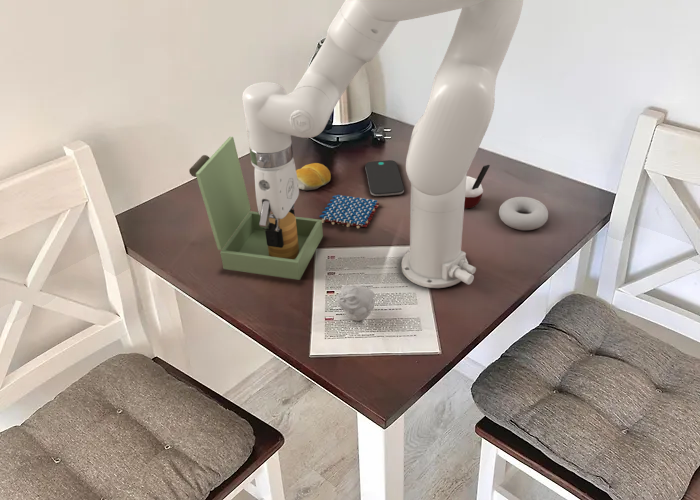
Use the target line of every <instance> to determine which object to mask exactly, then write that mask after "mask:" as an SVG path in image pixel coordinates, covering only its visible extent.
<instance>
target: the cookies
mask: <svg viewBox="0 0 700 500" xmlns="http://www.w3.org/2000/svg"><path fill="white" fill-rule="evenodd" d="M270 214H273V212H270ZM295 217H296V215H295V216H294V214H292V213H290V212H288V214H287V215H286V216H285V217H284V218H283V219H280V229H282V234H283V242H284V246H283V247H282V248H279V247H271V246H268V252H269V256H271V257H279V258H286V259H295V258H296V257H297V256H298V254H299V245H298V235H297V226H296V218H295ZM269 222H270V223H273V224H275V218H269Z"/></svg>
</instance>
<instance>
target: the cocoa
mask: <svg viewBox="0 0 700 500" xmlns="http://www.w3.org/2000/svg"><path fill="white" fill-rule="evenodd" d="M490 167H491V165H490V164H485V165H483V166H482V168H481V170H480V172H479V173H478V175H477V178H475V177H472V176H469V175H467V178H466V192H465V202H464V209H472V208H475V207H476V206H477V205H479V203H480V202H481V199H482V197H483V193H484V189H483V186H482V182H483V180H484V179H485V176H486V174H487V172H488V171H489V168H490Z"/></svg>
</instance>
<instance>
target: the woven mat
mask: <svg viewBox="0 0 700 500" xmlns="http://www.w3.org/2000/svg"><path fill="white" fill-rule="evenodd" d="M326 205H327V206H326V207H325V208H324V211H322V212H321V213H322V214H321V215H319V218H320V219H319V220H322V224H324V223H331V225H335V224H336V223H337V225H340V224H341V225H342V226H346V227H347V228H349V227H353V226H354V227H356V229H360V228H367V227H368V225H370V224H371V220H372V219H373V216H374V214H375V213H376V212H377V209H378V207H379V205H380V203H379V202H378V199H376V200H375V199H371V198H370V199H369V198H367V199H366V198H365V197H363V198H362V197H355V196H349V195H348V196H347V195H342V194H337V195H333V196H332V198H331V199H330V200H329V203H327V204H326Z"/></svg>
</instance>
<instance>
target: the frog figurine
mask: <svg viewBox="0 0 700 500" xmlns="http://www.w3.org/2000/svg"><path fill="white" fill-rule="evenodd" d="M335 300H336V304H337V305H338V307H339V308H340V309H341V310H342V311H343V312H344V314H345V316H346V317H347V318H348V319H350V320H352V321H355V322H360V321H364V320H365V319H367V318H368V317H369V316H370V314H371V313H372V311H373V310H374V309H375V292H374V291H373V290H371V289H370V288H368V287H365V286H361V285H354V284H352V285H349V284H344V285H342V286H341V289H340V291H339V292H338V293H337V295H335Z"/></svg>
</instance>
